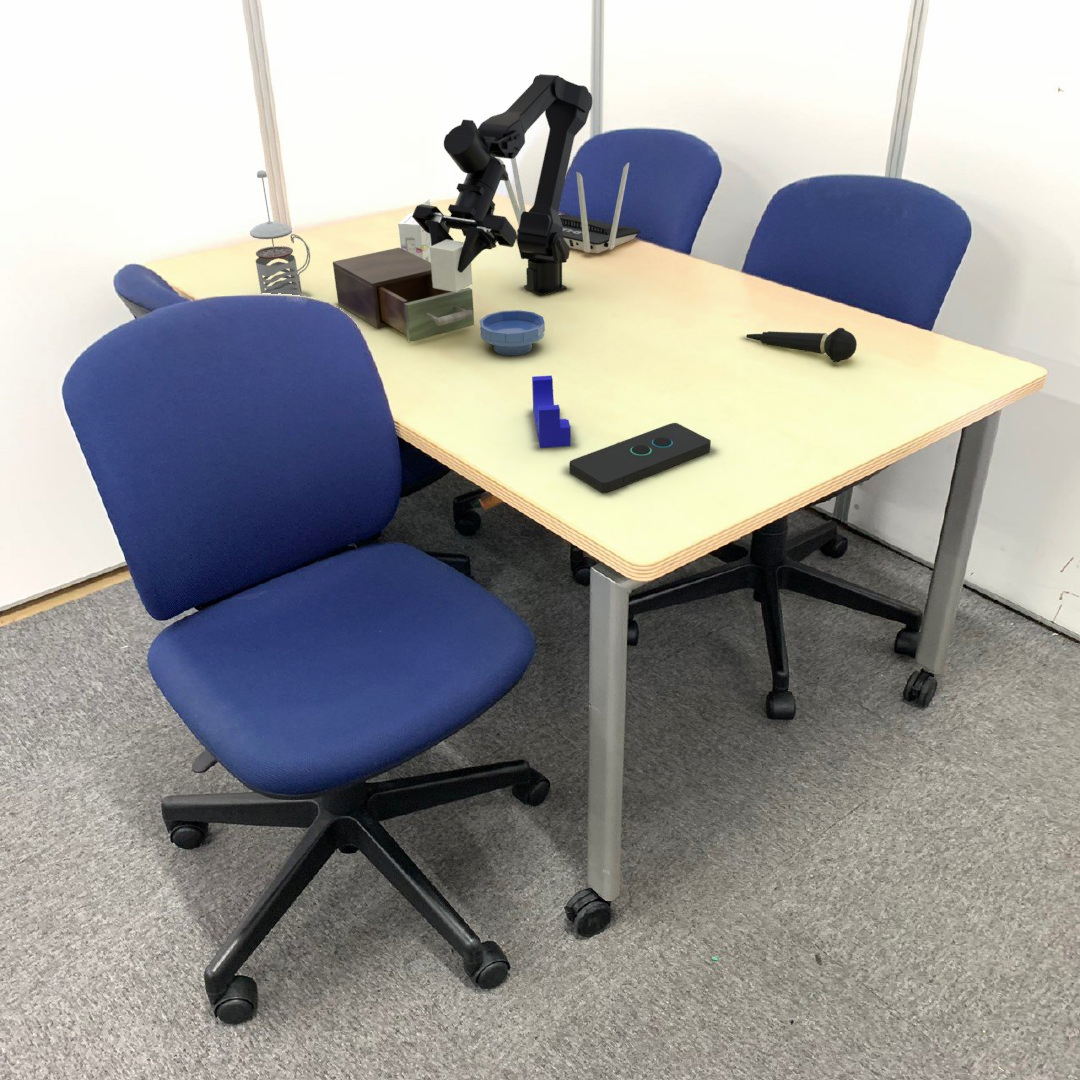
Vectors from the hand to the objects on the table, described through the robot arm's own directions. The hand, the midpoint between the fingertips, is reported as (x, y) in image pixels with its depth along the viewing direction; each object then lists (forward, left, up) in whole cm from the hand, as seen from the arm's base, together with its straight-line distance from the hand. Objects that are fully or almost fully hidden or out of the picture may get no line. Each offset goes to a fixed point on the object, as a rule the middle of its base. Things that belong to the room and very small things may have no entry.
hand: (446, 269), depth 177 cm
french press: (+14, -41, -14) cm, 46 cm away
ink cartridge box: (-15, -38, -14) cm, 43 cm away
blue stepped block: (+6, +39, -14) cm, 42 cm away
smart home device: (+2, +55, -14) cm, 57 cm away
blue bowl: (-7, +9, -13) cm, 18 cm away
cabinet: (0, -23, -13) cm, 27 cm away
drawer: (0, -8, -13) cm, 15 cm away
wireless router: (-53, -35, -14) cm, 65 cm away
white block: (-1, -1, -3) cm, 4 cm away
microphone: (-46, +41, -14) cm, 63 cm away
